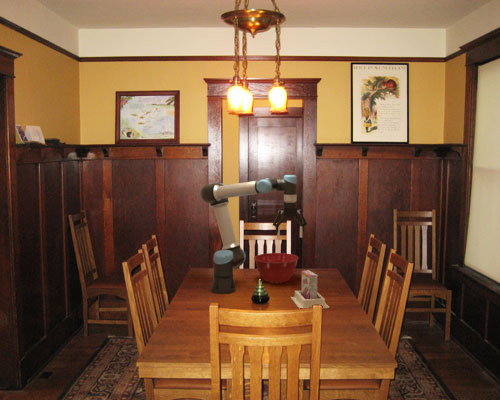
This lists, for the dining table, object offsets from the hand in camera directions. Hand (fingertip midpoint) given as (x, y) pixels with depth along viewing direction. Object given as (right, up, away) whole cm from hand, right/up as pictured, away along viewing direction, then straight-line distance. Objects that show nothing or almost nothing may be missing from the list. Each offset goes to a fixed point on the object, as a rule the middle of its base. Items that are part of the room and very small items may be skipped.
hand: (289, 237), depth 273 cm
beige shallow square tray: (+10, -35, -16) cm, 39 cm away
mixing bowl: (-6, -30, +28) cm, 41 cm away
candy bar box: (+9, -34, -16) cm, 39 cm away
